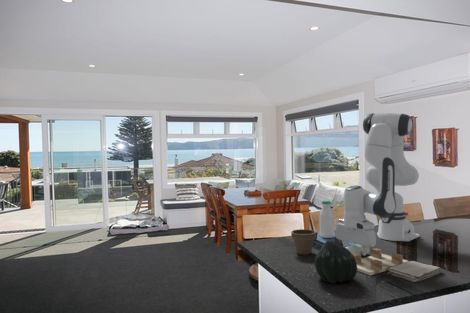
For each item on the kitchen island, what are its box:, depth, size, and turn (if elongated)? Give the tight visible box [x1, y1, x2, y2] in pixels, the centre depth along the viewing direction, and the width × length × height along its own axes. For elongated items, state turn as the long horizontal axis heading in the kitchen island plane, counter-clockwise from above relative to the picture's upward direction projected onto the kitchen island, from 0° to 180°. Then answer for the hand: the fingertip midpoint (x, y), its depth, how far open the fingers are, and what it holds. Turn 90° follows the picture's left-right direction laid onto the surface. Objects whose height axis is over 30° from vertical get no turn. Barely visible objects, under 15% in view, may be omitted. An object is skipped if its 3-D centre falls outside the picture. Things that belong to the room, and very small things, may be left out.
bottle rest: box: [353, 247, 410, 276], centre depth 143 cm, size 24×13×4 cm, turn 120°
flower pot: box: [290, 228, 317, 256], centre depth 163 cm, size 12×11×10 cm
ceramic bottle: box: [345, 244, 371, 256], centre depth 155 cm, size 18×5×5 cm, turn 120°
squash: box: [314, 240, 358, 284], centre depth 129 cm, size 14×15×15 cm
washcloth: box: [387, 260, 442, 283], centre depth 133 cm, size 12×18×3 cm, turn 123°
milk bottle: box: [319, 199, 335, 239], centre depth 191 cm, size 8×8×20 cm
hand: (354, 252), depth 156 cm, fingers open, 8 cm apart
